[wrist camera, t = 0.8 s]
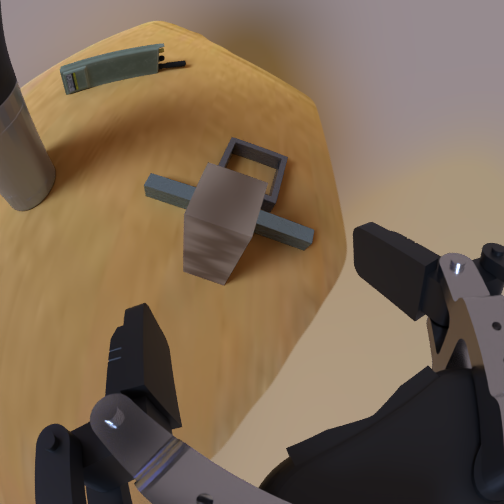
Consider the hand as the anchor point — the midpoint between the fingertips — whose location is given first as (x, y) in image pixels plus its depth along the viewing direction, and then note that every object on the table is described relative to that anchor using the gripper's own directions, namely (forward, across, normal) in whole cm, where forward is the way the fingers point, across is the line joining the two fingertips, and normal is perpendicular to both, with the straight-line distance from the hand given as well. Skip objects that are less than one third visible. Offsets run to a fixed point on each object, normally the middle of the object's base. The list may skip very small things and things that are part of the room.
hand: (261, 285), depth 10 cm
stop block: (+22, +1, +9) cm, 24 cm away
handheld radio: (+50, +6, -21) cm, 54 cm away
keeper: (+29, -6, +4) cm, 30 cm away
